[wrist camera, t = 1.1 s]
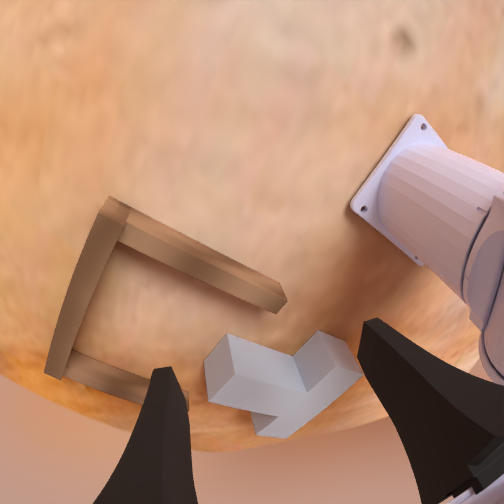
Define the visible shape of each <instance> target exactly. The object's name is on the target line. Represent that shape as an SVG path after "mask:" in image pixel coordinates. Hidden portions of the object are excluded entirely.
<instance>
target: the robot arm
mask: <svg viewBox="0 0 504 504" xmlns="http://www.w3.org/2000/svg"><path fill="white" fill-rule="evenodd" d="M422 124H423V128H422V129H421V125H422ZM363 206H365V208H364V210H363V211H361V208H362V207H363ZM350 208H351V209H352V210H353V211H354V212H355V213H357V214H358V215H359V216H360V217H362V218H363V219H364V220H365V221H367V222H368V223H369V224H370V225H372V226H373V227H374V228H375V229H376V230H378V231H379V232H380V233H381V234H383V235H384V236H385V237H386V238H387V239H389V240H390V241H391V242H392V243H393V244H394V245H396V246H397V247H398V248H399V249H400V250H402V251H403V252H404V253H405V254H406V255H407V256H408V257H410V258H411V259H412V260H413V261H414V262H415V263H416V264H418V265H419V266H424V265H426V266H427V267H428V268H430V269H431V270H432V271H433V272H434V273H435V274H436V275H437V276H438V277H439V278H440V279H441V280H442V281H443V282H444V283H445V284H446V285H447V286H448V287H450V288H451V289H452V290H453V291H454V292H455V293H456V294H457V295H458V296H459V297H460V298H461V299H462V300H463V301H464V302H465V303H466V304H467V305H468V307H469V308H470V317H469V319H470V320H471V321H472V322H473V323H474V324H475V325H476V326H477V328H478V329H479V330H480V331H481V333H480V337H479V355H480V359H481V362H482V365H483V367H484V369H485V371H486V373H487V374H488V376H489V377H490V378H491V380H492V381H493V382H494V383H493V382H490V381H487V380H484V379H481V378H479V377H476V376H473V375H471V374H469V373H466V372H464V371H462V370H460V369H458V368H456V367H454V366H452V365H450V364H448V363H446V362H444V361H442V360H441V359H439V358H437V357H436V356H434V355H432V354H431V353H429V352H427V351H426V350H424V349H423V348H421V347H419V346H418V345H416V344H415V343H413V342H412V341H411V340H409V339H408V338H406V337H405V336H403V335H402V334H400V333H399V332H397V331H396V330H395V329H393V328H392V327H390V326H389V325H388V324H386V323H385V322H383V321H382V320H380V319H379V318H374V319H371V320H368V321H365V322H364V323H363V329H362V334H361V340H360V345H359V350H358V355H357V358H358V360H359V362H360V365H361V367H362V370H363V372H364V374H365V376H366V378H367V380H368V382H369V383H370V385H371V387H372V388H373V390H374V392H375V393H376V395H377V397H378V398H379V400H380V402H381V403H382V405H383V406H384V408H385V410H386V411H387V413H388V415H389V416H390V418H391V420H392V422H393V423H394V425H395V427H396V429H397V432H398V434H399V436H400V438H401V441H402V443H403V446H404V448H405V451H406V453H407V456H408V458H409V461H410V464H411V467H412V470H413V473H414V476H415V479H416V483H417V486H418V490H419V494H420V498H421V503H422V504H439V503H440V502H442V501H444V500H445V499H447V498H448V497H450V496H452V495H453V497H454V499H453V500H451V501H450V502H448V503H447V504H504V173H502V172H500V171H498V170H496V169H494V168H491V167H489V166H487V165H485V164H483V163H480V162H478V161H476V160H473V159H471V158H469V157H466V156H464V155H461V154H459V153H456V152H454V151H451V150H449V149H448V148H447V147H446V145H445V144H444V143H443V141H442V140H441V139H440V137H439V136H438V135H437V133H436V132H435V131H434V130H433V128H432V127H431V126H430V125H429V123H428V122H427V121H426V120H425V118H424V117H423V116H422V115H419V114H414V115H413V116H412V117H411V119H410V120H409V122H408V123H407V124H406V126H405V127H404V129H403V130H402V131H401V133H400V134H399V136H398V137H397V139H396V140H395V141H394V143H393V144H392V146H391V147H390V148H389V150H388V151H387V153H386V154H385V155H384V157H383V158H382V159H381V161H380V162H379V164H378V165H377V166H376V168H375V169H374V170H373V172H372V173H371V174H370V176H369V177H368V179H367V180H366V181H365V183H364V184H363V185H362V187H361V188H360V189H359V191H358V192H357V193H356V195H355V196H354V197H353V199H352V200H351V202H350ZM192 473H193V472H192V459H191V441H190V424H189V417H188V411H187V405H186V399H185V396H184V394H183V392H182V390H181V388H180V385H179V383H178V381H177V379H176V376H175V374H174V372H173V369H172V367H171V366H170V367H163V368H157V369H154V370H153V372H152V376H151V380H150V383H149V387H148V390H147V393H146V397H145V400H144V403H143V406H142V408H141V411H140V414H139V417H138V420H137V422H136V425H135V427H134V430H133V432H132V434H131V437H130V439H129V442H128V444H127V446H126V448H125V451H124V453H123V455H122V457H121V459H120V461H119V463H118V464H117V466H116V468H115V470H114V472H113V473H112V475H111V477H110V479H109V481H108V482H107V484H106V485H105V487H104V488H103V490H102V491H101V493H100V494H99V496H98V497H97V499H96V500H95V501H94V503H93V504H198V502H197V497H196V492H195V487H194V481H193V474H192Z"/></svg>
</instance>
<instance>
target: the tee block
mask: <svg viewBox="0 0 504 504" xmlns="http://www.w3.org/2000/svg"><path fill="white" fill-rule="evenodd" d="M204 368H205V377H206V386H207V394H208V402H212V403H216V404H220V405H224V406H229V407H233V408H237V409H242V410H247V411H250V412H251V417H252V421H253V425H254V429H255V434H256V435H261V436H268V437H276V438H285V439H286V438H288V437H289V436H290V435H292V434H293V433H294V432H296V431H297V430H298V429H300V428H301V427H302V426H304V425H305V424H306V423H307V422H309V421H310V420H311V419H313V418H314V417H315V416H316V415H318V414H319V413H320V412H321V411H323V410H324V409H325V408H326V407H327V406H329V405H330V404H331V403H332V402H334V401H335V400H336V399H337V398H338V397H339V396H341V395H342V394H343V393H344V392H345V391H346V390H347V389H349V388H350V387H351V386H352V385H353V384H354V383H355V382H356V381H358V380H359V379H360V378H361V377H362V376H363V375H364V374H363V372H362V370H361V368H360V367H359V365H358V363H357V361H356V359H355V358H354V356H353V354H352V352H351V351H350V349H349V347H348V345H347V344H346V342H345V341H343V340H341V339H338V338H336V337H334V336H331V335H329V334H326V333H324V332H321V331H319V330H317V331H316V332H315V333H314V335H313V336H312V337H311V338H310V339H309V340H308V341H307V342H306V343H305V344H304V345H303V346H302V347H301V348H300V349H299V350H298V351H297V352H296V353H295V354H294V355H293V356H291V355H288V354H285V353H282V352H279V351H276V350H273V349H270V348H267V347H264V346H262V345H259V344H256V343H253V342H250V341H248V340H245V339H242V338H239V337H237V336H234V335H231V334H229V333H227V334H226V335H225V336H224V337H223V338H222V340H221V341H220V342H219V343H218V345H217V346H216V347H215V348H214V349H213V351H212V352H211V353H210V354H209V355H208V357H207V358H206V359H205V360H204Z"/></svg>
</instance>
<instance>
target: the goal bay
mask: <svg viewBox="0 0 504 504" xmlns="http://www.w3.org/2000/svg"><path fill="white" fill-rule="evenodd" d="M116 241H119V242H121V243H123V244H125V245H127V246H129V247H131V248H133V249H135V250H137V251H139V252H141V253H144V254H146V255H148V256H150V257H152V258H154V259H156V260H158V261H160V262H162V263H164V264H166V265H168V266H170V267H173V268H175V269H177V270H179V271H181V272H183V273H185V274H187V275H190V276H192V277H194V278H196V279H198V280H200V281H202V282H205V283H207V284H209V285H211V286H213V287H216V288H218V289H220V290H222V291H224V292H227V293H229V294H231V295H233V296H236V297H238V298H240V299H242V300H245V301H247V302H249V303H251V304H254V305H256V306H258V307H261V308H263V309H265V310H267V311H270V312H272V313H274V314H277V313H278V312H279V311H280V309H281V308H282V307H283V306H284V305H285V304H286V302H287V298H286V296H285V294H284V292H283V289H282V287H281V285H280V283H278V282H276V281H274V280H272V279H270V278H268V277H266V276H264V275H262V274H260V273H258V272H256V271H254V270H252V269H250V268H248V267H246V266H244V265H243V264H241V263H239V262H237V261H235V260H233V259H231V258H229V257H227V256H225V255H223V254H221V253H219V252H217V251H215V250H213V249H211V248H209V247H207V246H205V245H203V244H201V243H199V242H197V241H195V240H193V239H191V238H189V237H187V236H185V235H183V234H182V233H180V232H178V231H176V230H174V229H172V228H170V227H168V226H166V225H164V224H162V223H160V222H158V221H156V220H154V219H152V218H151V217H149V216H147V215H145V214H143V213H141V212H139V211H137V210H135V209H133V208H131V207H129V206H127V205H126V204H124V203H122V202H120V201H118V200H116V199H114V198H112V197H110V196H109V197H108V199H107V200H106V202H105V203H104V205H103V206H102V208H101V209H100V211H99V213H98V215H97V217H96V219H95V221H94V224H93V226H92V228H91V231H90V233H89V235H88V238H87V240H86V243H85V245H84V248H83V250H82V253H81V255H80V258H79V260H78V263H77V265H76V268H75V271H74V274H73V276H72V279H71V282H70V285H69V287H68V290H67V293H66V296H65V299H64V302H63V305H62V308H61V312H60V315H59V318H58V321H57V325H56V328H55V332H54V335H53V339H52V342H51V346H50V350H49V354H48V358H47V362H46V366H45V370H44V373H45V374H48V375H50V376H52V377H54V378H57V379H59V380H61V379H62V376H64V377H67V378H69V379H71V380H74V381H76V382H79V383H81V384H84V385H86V386H89V387H91V388H94V389H97V390H99V391H102V392H105V393H108V394H110V395H113V396H116V397H119V398H122V399H125V400H128V401H131V402H134V403H137V404H141V405H143V403H144V400H145V397H146V393H147V390H148V387H149V383H150V380H149V379H146V378H143V377H140V376H137V375H134V374H132V373H129V372H126V371H123V370H121V369H118V368H115V367H113V366H110V365H108V364H105V363H103V362H100V361H98V360H95V359H93V358H90V357H88V356H85V355H83V354H81V353H78V352H76V351H74V350H72V346H73V344H74V341H75V338H76V335H77V333H78V330H79V327H80V325H81V322H82V319H83V317H84V314H85V312H86V309H87V307H88V304H89V302H90V300H91V297H92V295H93V292H94V290H95V288H96V285H97V283H98V281H99V278H100V276H101V274H102V272H103V269H104V267H105V265H106V263H107V261H108V258H109V256H110V254H111V252H112V250H113V248H114V246H115V244H116ZM182 392H183V394H184V396H185V399H186V405H187V411H189V399H188V392H187V391H184V390H182Z"/></svg>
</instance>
